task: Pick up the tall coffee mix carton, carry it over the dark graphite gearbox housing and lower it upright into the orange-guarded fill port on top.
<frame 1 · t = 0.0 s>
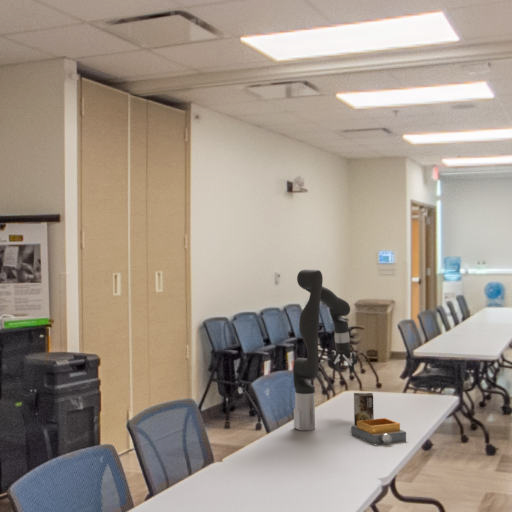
hand: (344, 371, 378), 22 cm above the table, tool pointing down, fingers open, 8 cm apart
gearbox housing: (378, 437, 332), on the table
coffee box: (363, 428, 351), on the table
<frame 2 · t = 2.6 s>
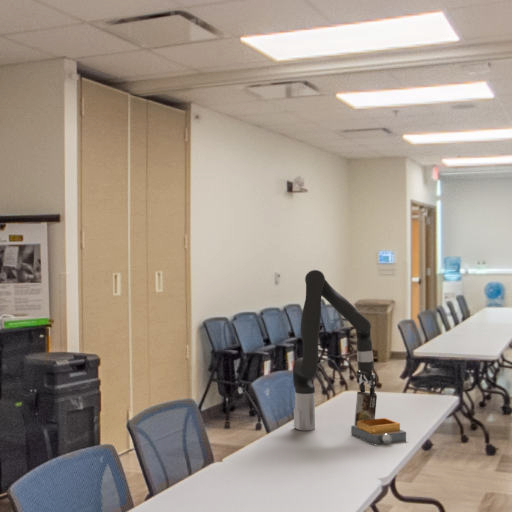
hand: (367, 394, 351), 16 cm above the table, tool pointing down, fingers open, 8 cm apart
coffee box: (363, 427, 351), on the table, touching gripper
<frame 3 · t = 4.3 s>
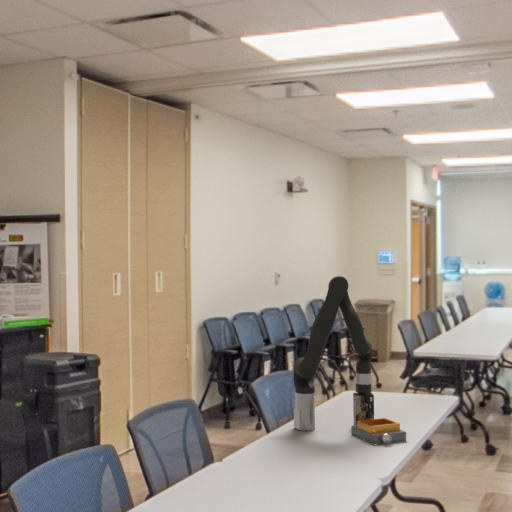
hand: (363, 416, 351), 5 cm above the table, tool pointing down, fingers closed on coffee box, 7 cm apart
coffee box: (363, 428, 351), on the table, touching gripper
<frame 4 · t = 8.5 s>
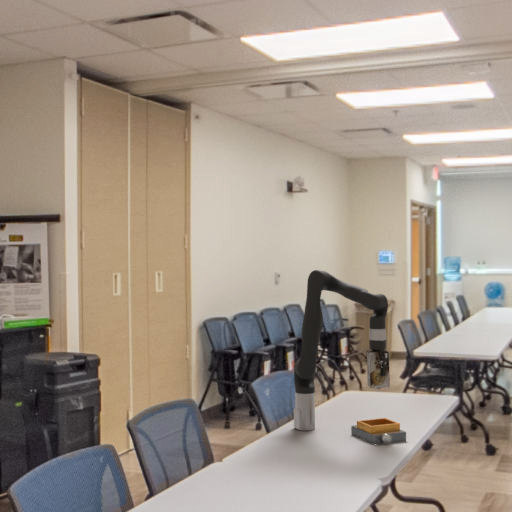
hand: (378, 374, 332), 28 cm above the table, tool pointing down, fingers closed on coffee box, 7 cm apart
coffee box: (378, 387, 332), point 23 cm above the table, touching gripper
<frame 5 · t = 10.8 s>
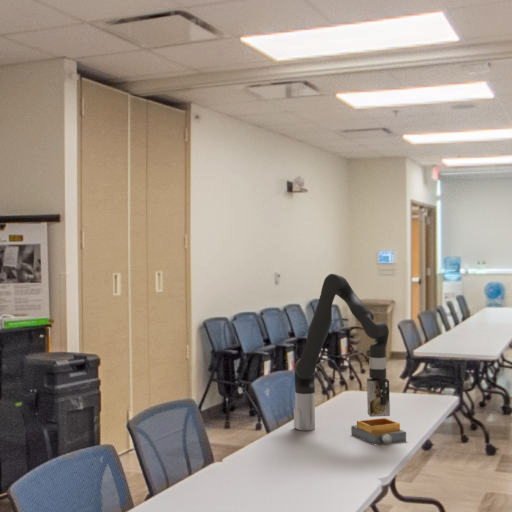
hand: (378, 403, 332), 15 cm above the table, tool pointing down, fingers closed on coffee box, 7 cm apart
coffee box: (378, 415, 332), point 10 cm above the table, touching gripper
when the fingers open (11 cm above the table, at t = 12.9 s): coffee box drops 2 cm, resting on gearbox housing.
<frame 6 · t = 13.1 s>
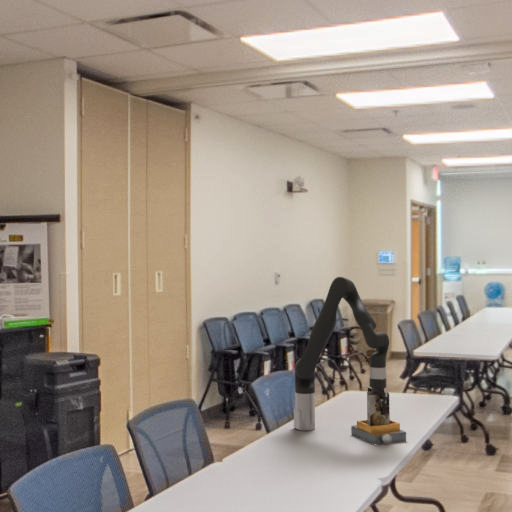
hand: (378, 413, 332), 11 cm above the table, tool pointing down, fingers open, 8 cm apart
coffee box: (378, 429, 332), point 4 cm above the table, touching gearbox housing
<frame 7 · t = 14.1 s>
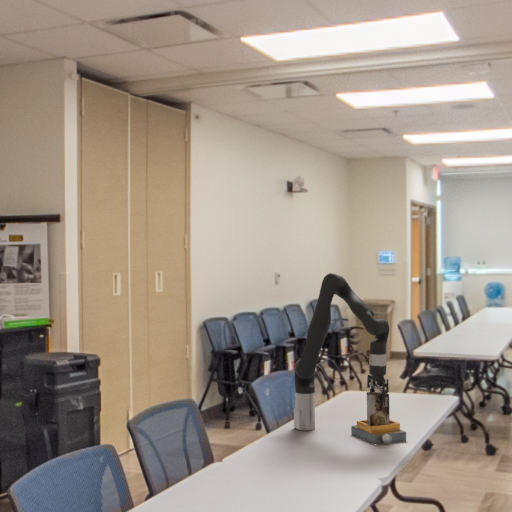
hand: (377, 400, 332), 17 cm above the table, tool pointing down, fingers open, 8 cm apart
coffee box: (378, 429, 332), point 4 cm above the table, touching gearbox housing, gripper
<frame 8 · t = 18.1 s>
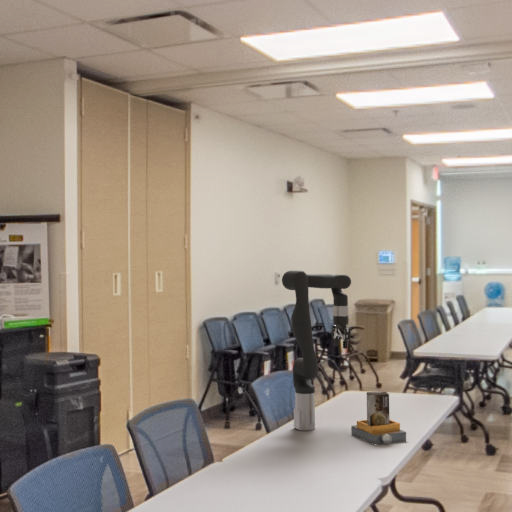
hand: (340, 347, 367), 36 cm above the table, tool pointing down, fingers open, 8 cm apart
coffee box: (378, 429, 332), point 4 cm above the table, touching gearbox housing
at the end: coffee box 0.1 cm off-centre on the gearbox housing, point 3.8 cm above the gearbox housing's base; coffee box tilted 0°; the gripper is holding nothing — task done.
